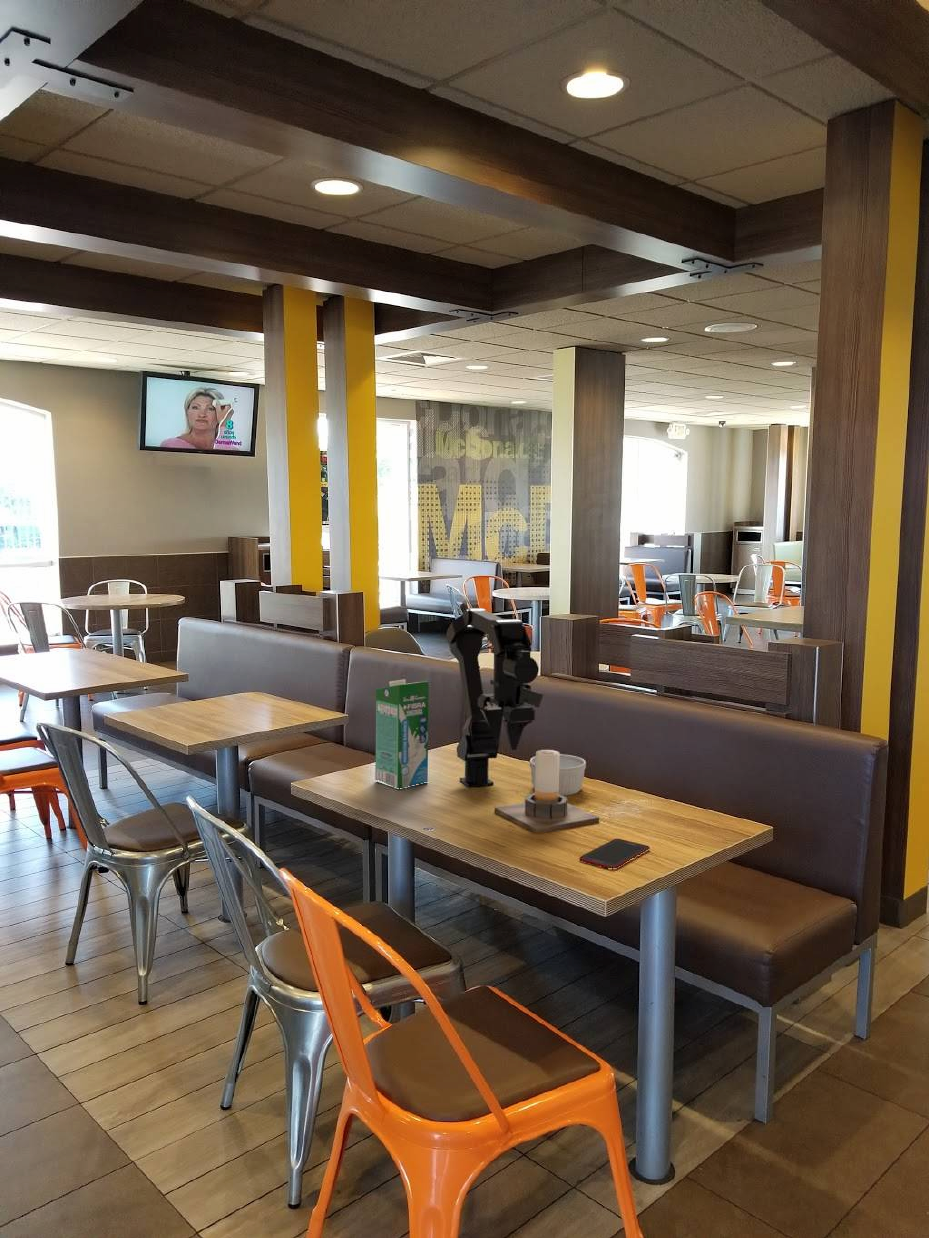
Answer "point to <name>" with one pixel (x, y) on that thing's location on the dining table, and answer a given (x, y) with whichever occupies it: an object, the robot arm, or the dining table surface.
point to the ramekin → (566, 773)
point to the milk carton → (402, 733)
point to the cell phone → (614, 853)
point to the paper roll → (547, 776)
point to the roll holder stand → (546, 815)
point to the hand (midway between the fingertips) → (505, 744)
